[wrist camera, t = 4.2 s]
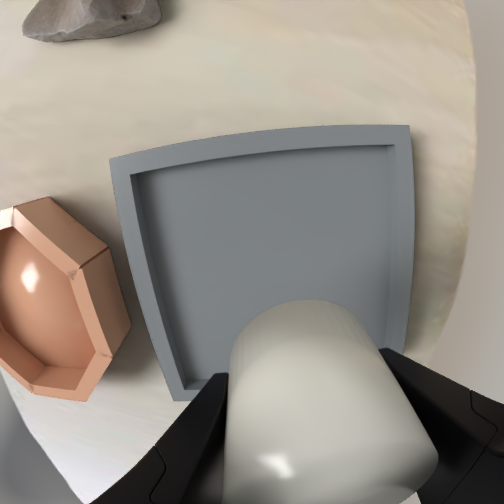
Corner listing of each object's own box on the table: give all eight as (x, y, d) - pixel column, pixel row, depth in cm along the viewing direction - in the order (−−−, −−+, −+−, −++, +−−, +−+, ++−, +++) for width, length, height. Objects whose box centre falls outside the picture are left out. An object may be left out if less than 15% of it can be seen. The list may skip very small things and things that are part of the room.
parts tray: (389, 353, 19) (399, 370, 17) (178, 382, 19) (173, 401, 17) (392, 128, 15) (409, 125, 13) (124, 158, 15) (108, 159, 13)
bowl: (148, 372, 19) (135, 405, 16) (24, 365, 19) (5, 387, 16) (96, 183, 15) (64, 190, 12) (-27, 222, 16) (-57, 234, 12)
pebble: (362, 396, 10) (407, 509, 5) (241, 415, 10) (240, 540, 5) (371, 288, 8) (467, 408, 3) (217, 309, 8) (194, 465, 4)
